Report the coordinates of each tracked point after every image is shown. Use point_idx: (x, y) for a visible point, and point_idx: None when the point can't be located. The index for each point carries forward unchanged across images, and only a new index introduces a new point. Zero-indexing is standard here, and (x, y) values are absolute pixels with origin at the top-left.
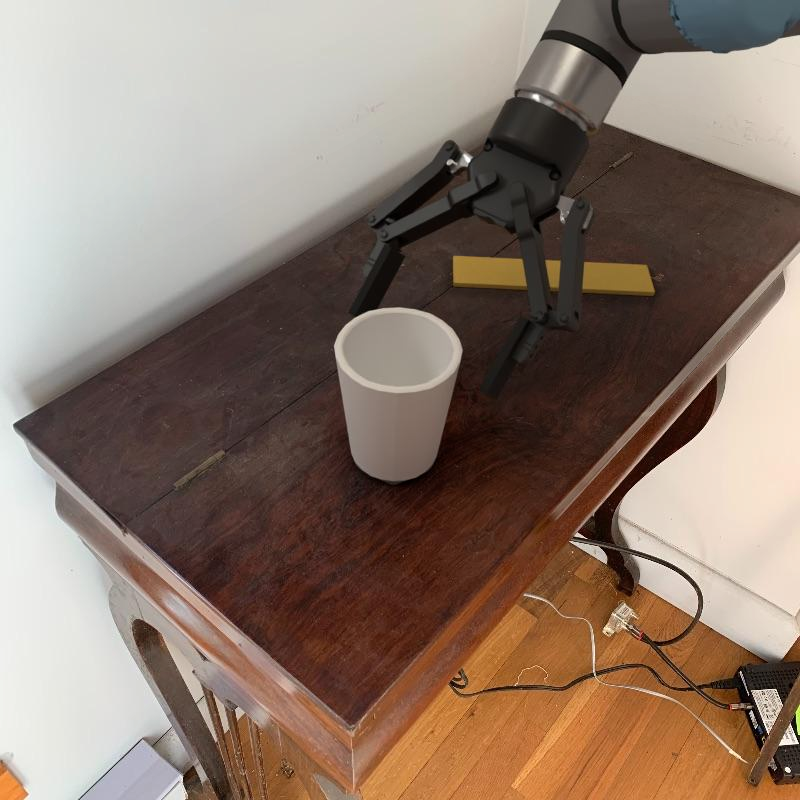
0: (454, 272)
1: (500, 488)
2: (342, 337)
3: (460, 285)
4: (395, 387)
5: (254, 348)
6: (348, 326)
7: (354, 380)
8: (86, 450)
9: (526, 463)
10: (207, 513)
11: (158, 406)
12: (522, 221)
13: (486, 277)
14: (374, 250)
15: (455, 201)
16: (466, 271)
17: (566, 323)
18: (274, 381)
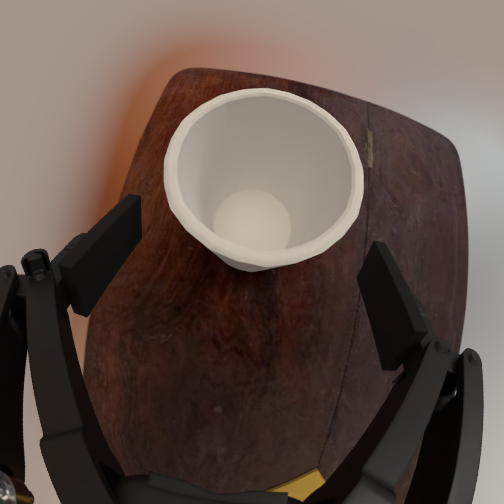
0: (323, 480)
1: (145, 245)
2: (347, 143)
3: (309, 472)
4: (227, 97)
5: (426, 278)
6: (356, 165)
7: (282, 91)
8: (425, 137)
9: (135, 286)
10: (337, 120)
11: (429, 185)
12: (71, 474)
13: (290, 491)
14: (430, 328)
15: (361, 487)
16: (312, 487)
17: (2, 267)
18: (393, 252)
